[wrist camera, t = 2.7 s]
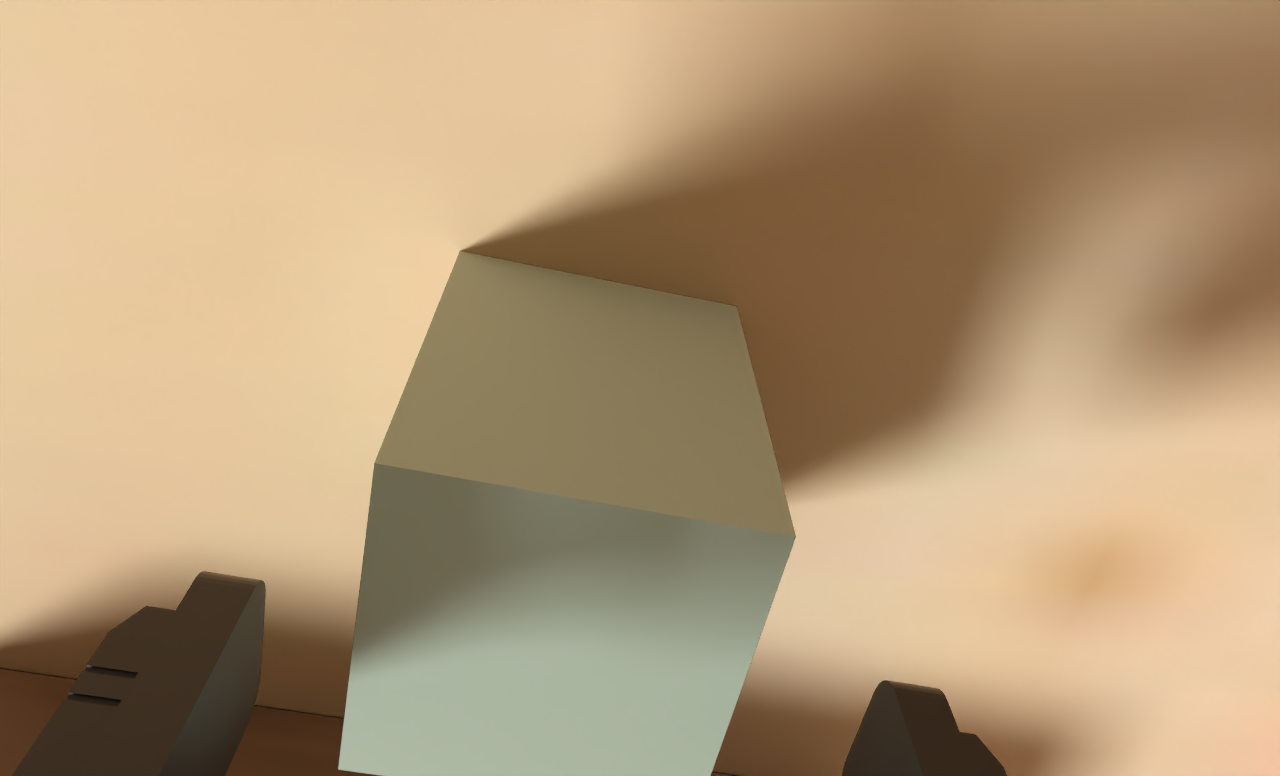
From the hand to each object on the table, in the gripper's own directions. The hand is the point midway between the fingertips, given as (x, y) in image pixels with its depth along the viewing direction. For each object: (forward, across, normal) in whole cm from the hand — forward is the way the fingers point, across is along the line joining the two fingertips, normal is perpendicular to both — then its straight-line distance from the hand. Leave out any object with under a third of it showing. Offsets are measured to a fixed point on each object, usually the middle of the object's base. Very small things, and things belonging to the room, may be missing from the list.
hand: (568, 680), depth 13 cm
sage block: (+7, 0, 0) cm, 7 cm away
